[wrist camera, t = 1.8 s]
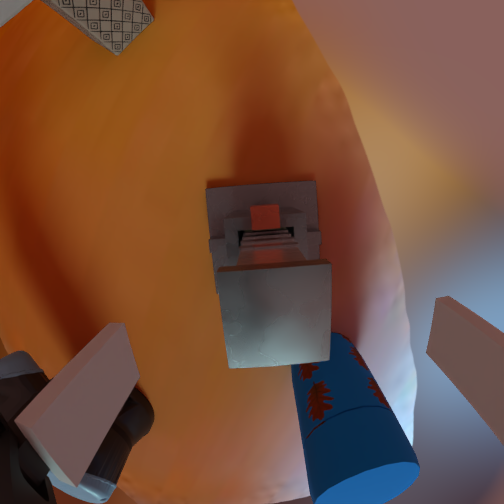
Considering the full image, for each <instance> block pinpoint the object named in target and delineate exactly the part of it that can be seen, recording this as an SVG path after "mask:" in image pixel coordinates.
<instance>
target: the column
mask: <svg viewBox="0 0 504 504" xmlns="http://www.w3.org/2000/svg"><path fill="white" fill-rule="evenodd" d="M243 234H244V236H242V241H241V242H240V244H241V246H239V248H238V250H239V258H238V261H237V265H236V266H223V267H219V268H218V270H217V272H216V273H217V282H218V290H219V298H220V306H221V314H222V322H223V329H224V336H225V343H226V350H227V357H228V364H229V368H250V367H267V366H280V365H291V364H302V363H311V362H319V361H327V360H329V358H330V338H331V301H332V264H331V263H330V262H329V261H328V260H327V259H315V260H306V258H305V257H304V255H303V254H302V253H301V251H300V250H299V243H298V242H295V239H294V237H291V233H290V232H288V229H286V228H285V227H280V228H275V229H262V230H245V232H244V233H243Z"/></svg>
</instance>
